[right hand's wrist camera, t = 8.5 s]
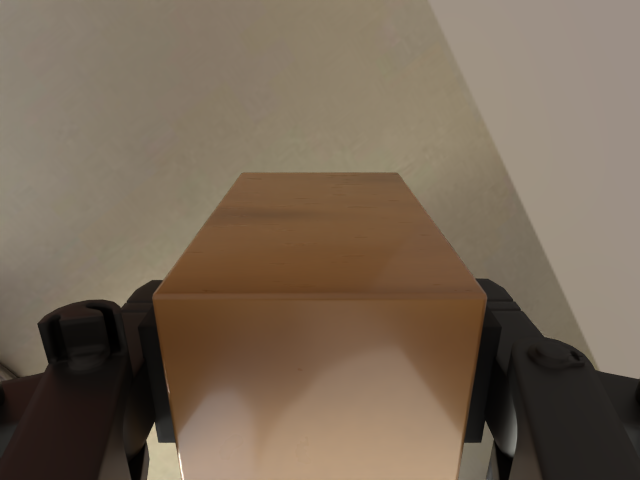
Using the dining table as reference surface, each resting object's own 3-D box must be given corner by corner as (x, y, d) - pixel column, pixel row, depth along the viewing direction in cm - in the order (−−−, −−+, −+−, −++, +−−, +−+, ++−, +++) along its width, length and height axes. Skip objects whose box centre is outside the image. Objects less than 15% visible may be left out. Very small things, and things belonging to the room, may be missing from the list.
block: (389, 309, 16) (452, 528, 8) (250, 309, 16) (187, 528, 8) (398, 171, 14) (490, 294, 6) (241, 172, 14) (149, 295, 6)
